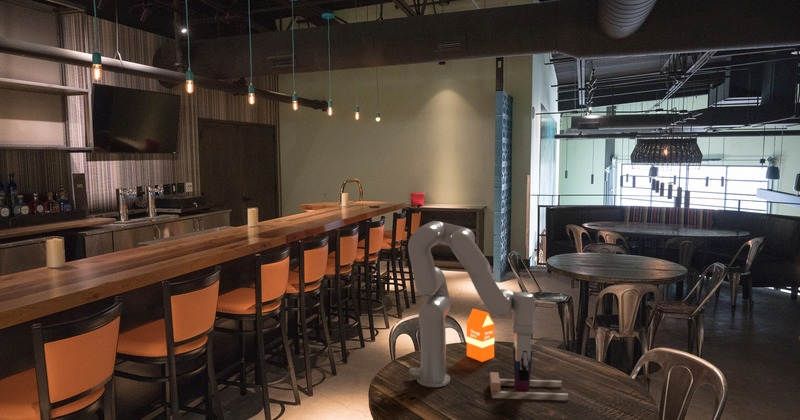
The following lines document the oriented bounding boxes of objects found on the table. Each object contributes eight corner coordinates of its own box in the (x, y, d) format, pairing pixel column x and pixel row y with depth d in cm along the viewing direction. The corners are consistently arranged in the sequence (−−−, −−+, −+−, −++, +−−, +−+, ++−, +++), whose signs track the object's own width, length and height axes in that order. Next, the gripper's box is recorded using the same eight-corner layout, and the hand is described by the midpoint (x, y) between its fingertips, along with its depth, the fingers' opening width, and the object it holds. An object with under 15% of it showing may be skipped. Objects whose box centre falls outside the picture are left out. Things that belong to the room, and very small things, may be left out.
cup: (508, 386, 188) (509, 346, 186) (525, 384, 190) (526, 344, 188) (518, 394, 181) (519, 353, 180) (535, 392, 183) (536, 351, 182)
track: (492, 397, 181) (492, 384, 180) (489, 383, 192) (489, 370, 192) (568, 400, 178) (568, 386, 178) (561, 385, 190) (561, 372, 189)
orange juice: (478, 351, 224) (478, 306, 222) (494, 357, 217) (494, 311, 215) (466, 355, 219) (466, 310, 217) (482, 362, 212) (482, 314, 210)
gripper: (509, 319, 192) (508, 366, 194) (515, 335, 175) (514, 386, 177) (530, 320, 191) (529, 366, 193) (538, 336, 174) (536, 387, 176)
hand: (522, 375), depth 185 cm, fingers closed on cup, 6 cm apart
